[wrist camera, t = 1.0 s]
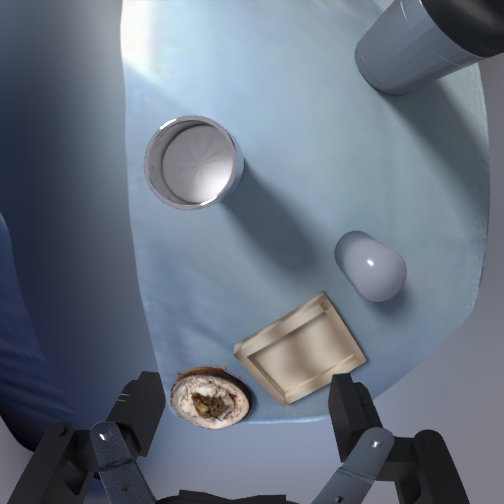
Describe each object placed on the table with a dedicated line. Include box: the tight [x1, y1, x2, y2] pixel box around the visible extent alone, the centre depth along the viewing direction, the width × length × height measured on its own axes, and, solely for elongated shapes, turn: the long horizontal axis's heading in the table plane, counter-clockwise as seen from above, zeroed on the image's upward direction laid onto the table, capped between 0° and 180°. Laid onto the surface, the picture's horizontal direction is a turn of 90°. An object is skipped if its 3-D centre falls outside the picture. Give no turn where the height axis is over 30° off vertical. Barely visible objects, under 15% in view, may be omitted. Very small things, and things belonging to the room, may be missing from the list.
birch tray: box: [234, 291, 367, 407], centre depth 38 cm, size 14×12×2 cm
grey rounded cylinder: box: [335, 231, 407, 302], centre depth 31 cm, size 6×6×9 cm
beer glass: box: [144, 115, 244, 210], centre depth 26 cm, size 7×7×15 cm
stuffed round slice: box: [170, 361, 252, 429], centre depth 41 cm, size 15×15×4 cm
